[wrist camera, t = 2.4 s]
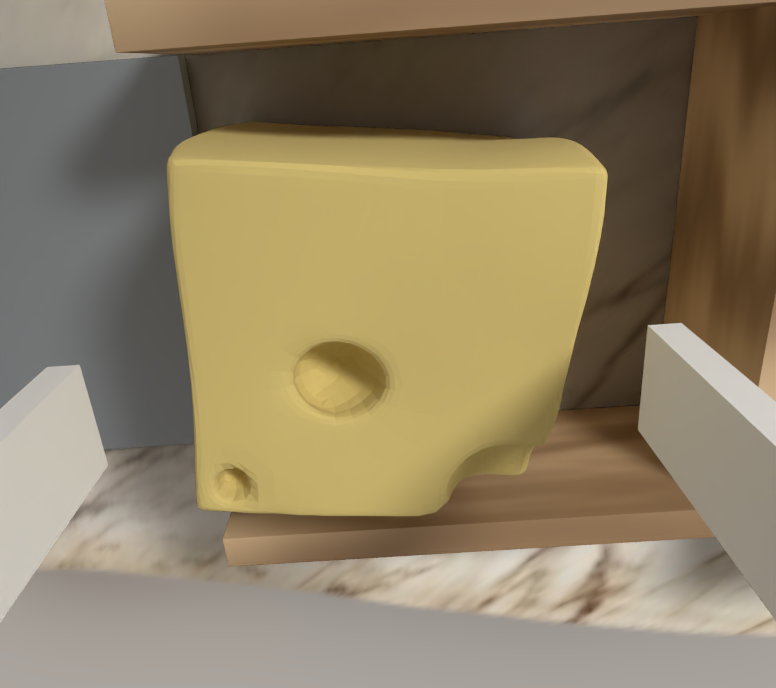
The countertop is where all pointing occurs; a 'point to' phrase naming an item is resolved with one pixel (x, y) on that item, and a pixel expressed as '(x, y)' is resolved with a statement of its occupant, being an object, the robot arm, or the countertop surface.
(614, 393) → the countertop surface
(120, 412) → the slate pad
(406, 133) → the cheese
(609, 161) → the countertop surface
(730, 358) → the open wooden frame
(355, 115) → the countertop surface
